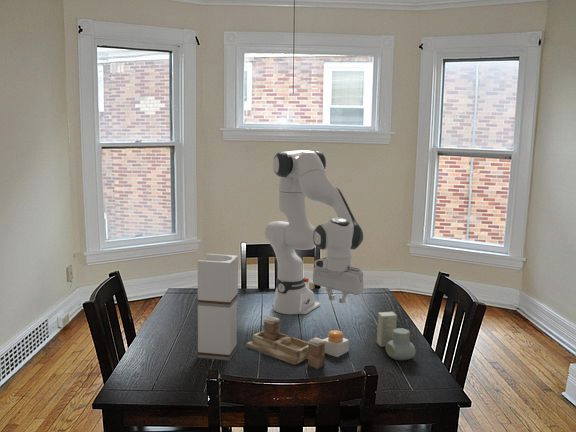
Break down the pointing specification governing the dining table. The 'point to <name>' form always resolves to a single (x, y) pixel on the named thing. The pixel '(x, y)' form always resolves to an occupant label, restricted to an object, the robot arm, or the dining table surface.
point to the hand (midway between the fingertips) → (336, 301)
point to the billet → (316, 352)
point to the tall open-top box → (217, 306)
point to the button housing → (336, 347)
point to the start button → (335, 336)
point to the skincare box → (385, 327)
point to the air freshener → (400, 345)
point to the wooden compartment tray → (279, 343)
